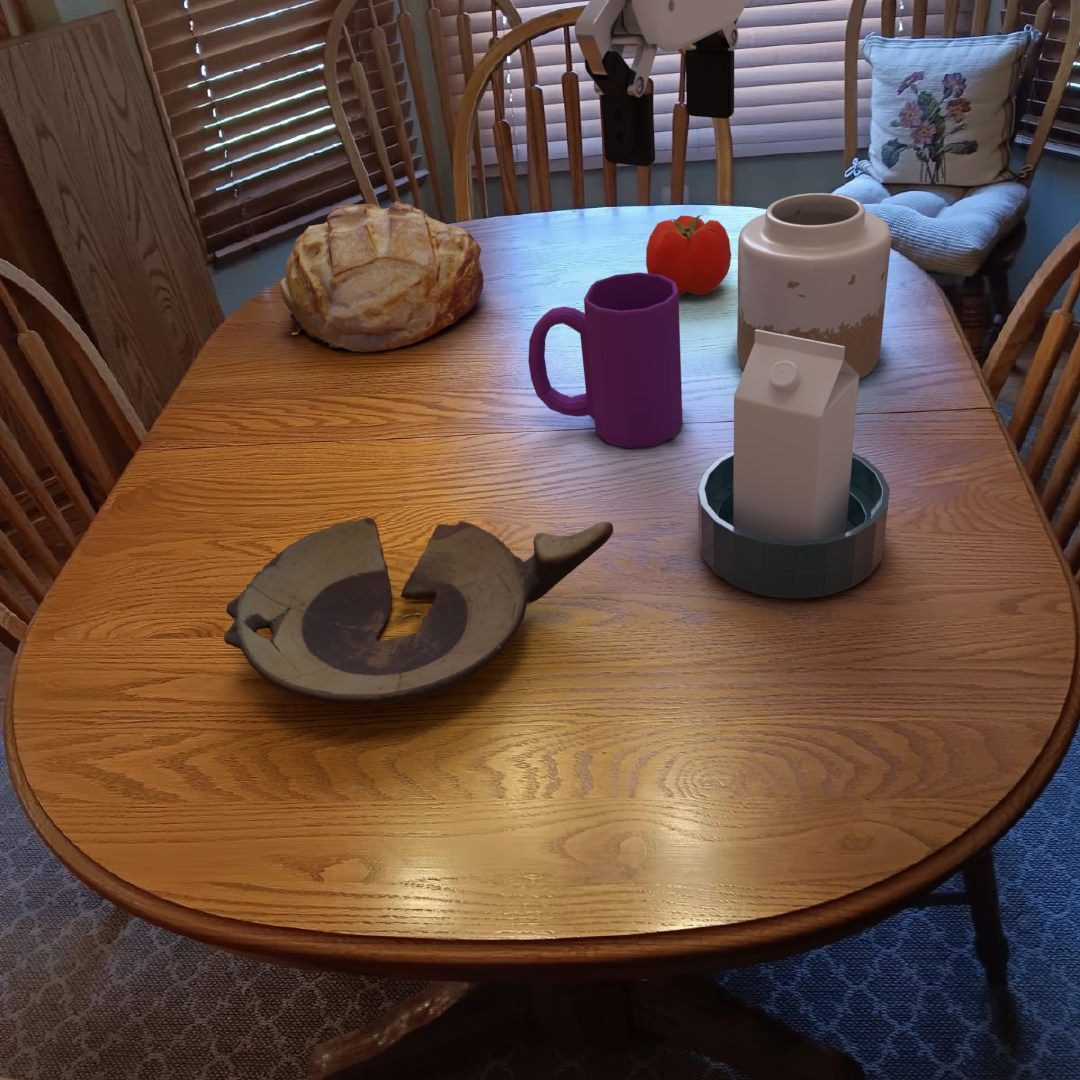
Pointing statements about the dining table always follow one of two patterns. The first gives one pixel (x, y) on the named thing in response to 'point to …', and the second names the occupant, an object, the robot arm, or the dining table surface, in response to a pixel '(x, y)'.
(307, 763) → the dining table surface
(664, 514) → the dining table surface
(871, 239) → the vase
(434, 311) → the bread
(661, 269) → the tomato
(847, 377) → the milk carton
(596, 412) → the mug
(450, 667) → the broken pan
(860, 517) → the shallow pet bowl
